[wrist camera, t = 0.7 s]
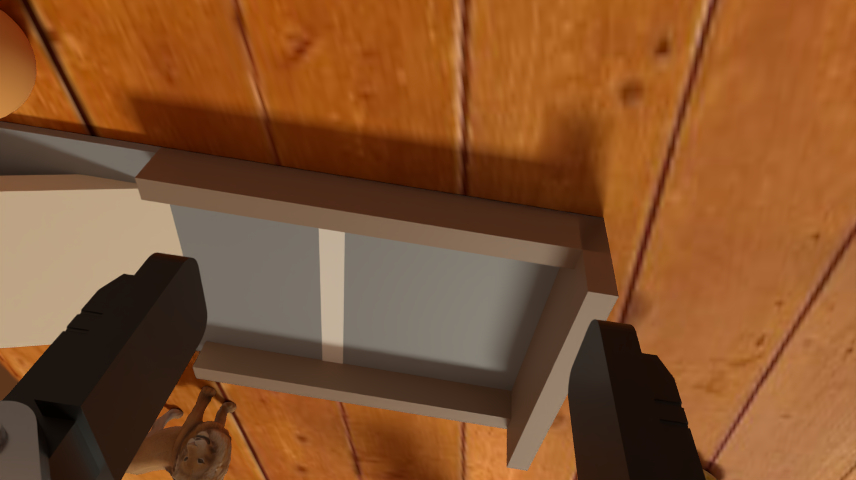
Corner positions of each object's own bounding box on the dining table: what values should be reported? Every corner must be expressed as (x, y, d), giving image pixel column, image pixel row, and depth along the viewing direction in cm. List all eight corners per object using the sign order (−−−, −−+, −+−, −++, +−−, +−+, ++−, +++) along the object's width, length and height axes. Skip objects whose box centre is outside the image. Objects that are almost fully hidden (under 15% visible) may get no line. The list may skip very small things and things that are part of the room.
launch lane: (10, 304, 45) (-53, 375, 40) (-119, 93, 32) (-236, 158, 27) (525, 388, 45) (527, 470, 40) (601, 208, 32) (618, 296, 27)
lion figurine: (232, 369, 46) (186, 474, 40) (270, 403, 49) (233, 505, 43) (112, 395, 52) (54, 491, 45) (153, 424, 55) (103, 518, 48)
